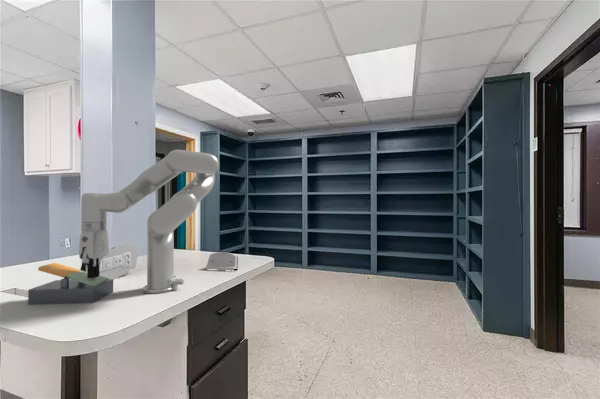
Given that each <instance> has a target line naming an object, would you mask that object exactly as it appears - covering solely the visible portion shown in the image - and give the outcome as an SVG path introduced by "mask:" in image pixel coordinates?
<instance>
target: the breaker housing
mask: <svg viewBox="0 0 600 399" xmlns="http://www.w3.org/2000/svg"><path fill="white" fill-rule="evenodd" d="M27 293H28V294H27V295H28V297H27V298H28V299H27V304H29V305H59V304H60V305H61V304H62V305H65V304H67V305H68V304H69V305H70V304H71V305H72V304H94V303H96V302H97V301H99V300H101V299H103V298H105V297H107V296H108V295H111V294H113V293H114V280H113V279H107V281H106V282H104V283H101V284H99V285H97V286H92V285H88V284H85V283H81V282H78V281H74V280H69V279H64V278H61V279H58V280H57V279H55V280H53V281H50V282H47V283H43V284H41V285H37V286H35V287H32V288H30V289H28V291H27Z"/></svg>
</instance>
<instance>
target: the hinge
mask: <svg viewBox="0 0 600 399" xmlns="http://www.w3.org/2000/svg"><path fill="white" fill-rule="evenodd" d="M205 269H217V270H234V269H238V270H239V257H238V255H237V254H234V253H231V252H226V251H219V252H215V253H211V254H210V255H209V256H208V259H207V264H206V265H205ZM205 269H204V270H205ZM234 271H235V270H234Z"/></svg>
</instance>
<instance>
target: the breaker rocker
mask: <svg viewBox="0 0 600 399" xmlns="http://www.w3.org/2000/svg"><path fill="white" fill-rule="evenodd" d="M37 271H39V272H42V273H47V274H50V275H53V276H57V277H61V278H62V279H69V280H74V281H78V282H81V283H85V284H88V285H92V286H97V285H99V284H101V283H104V282H106V281H107V279H108V278H106V277H103V276H98V277H96V278H88V277H87V272H85V271H82V270H81V269H78V268H74V267H71V266H67V265H64V264H62V263H61V264H60V263H57V262H52V263H49V264H46V265H42V266H38V269H37Z"/></svg>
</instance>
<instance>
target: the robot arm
mask: <svg viewBox="0 0 600 399" xmlns="http://www.w3.org/2000/svg"><path fill="white" fill-rule="evenodd" d="M219 167H220V163H219V160H218V158H217V157H216V156H215V155H213V154H212V153H207V152H200V151H192V150H186V149H185V150H184V149H173V150H172V151H171V150H170V151H169V152H168V154H167V155H166V156H165V157H163V158H162V159H160V160H159V161H158V162H156V163H155V164H153V165H151V166H150V167H148V168H146V169H144V170H143V172H141V173H140V174H139V175H138V176H137V177H136V179H135V180H133V182H130V183H129V184H128V185H126V186H125V187H124V188H122V189H120V190H119V191H118V192H109V193H103V192H84V193H83V194H82V195H81V197H80V198H81V201H80V202H81V203H80V204H81V207H80V209H81V210H80V211H81V212H80V232H81V233H80V237H79V245H78V249H79V250H78V255H79V259H80V260H81V264H82V263H86V266H87V277H88V278H96V277H98V276H99V266H98V265H100V263H101V259H103V258H104V256H106V255H108V253H109V250H110V248H109V246H110V245H109V235H108V229H107V213H116V214H119V213H120V214H121V213H123V212H126V211H127V210H129V209H131V208H132V207H133V206H135V205H136V204H137V203H138V202H140V201H141V200H143V199H145V197H147V196H149V195H151V194H152V193H155V192H156V191H157V190H159V189H160V188H162V187H163V186H164V185H166V184H167V183H168V182H170V181H171V180H172V179H174V178H176V177H177V176H178V175H180V174H181V173H183V172H185V173H192V174H193V173H194V174H195V176H194V177H193V179H192V180H191V181H190V182H188V183H187V185H185V186H184V187H183V188H181V190H179V191H178V192H176V193H174V194H173V195H172V197H171V198H169V200H168V201H166V202H165V203H164V204H163V205H161V206H160V207H159V208H158V209H156V210H154V211H153V212H151V214H150V215H149V216H148V218H147V223H146V227H147V240H146V241H147V243H146V244H147V245H146V246H147V252H146V254H147V255H146V258H147V262H146V263H147V264H146V277H147V278H146V285H144V286H143V287H142V292H143V293H145V294H162V293H169V292H172V291H174V290H175V289H177V288H178V286H179V285H184V283H185V281H184V280H185V279H183V278H177V275H174V264H175V263H174V258H175V257H174V256H175V255H174V252H175V250H174V249H175V247H174V245H175V244H174V243H175V242H174V240H175V238H174V236H175V235H174V234H175V232H174V231H175V230H176V229H177V228H178V227H179V226H180V225H182V224H183V223H184V222H185V221H186V220H187V219H188V218H189V217H190V216H191V215H192V214H194V213H195V210H196V209H197V207H198V204H199V203H200V202H201V201H202V200H203V199H204V198H205V197H206V196H207V195H209V193H210V192H211V191H212V190H213V187H214V186H215V182H216V172H217V171H218V170H219Z"/></svg>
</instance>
